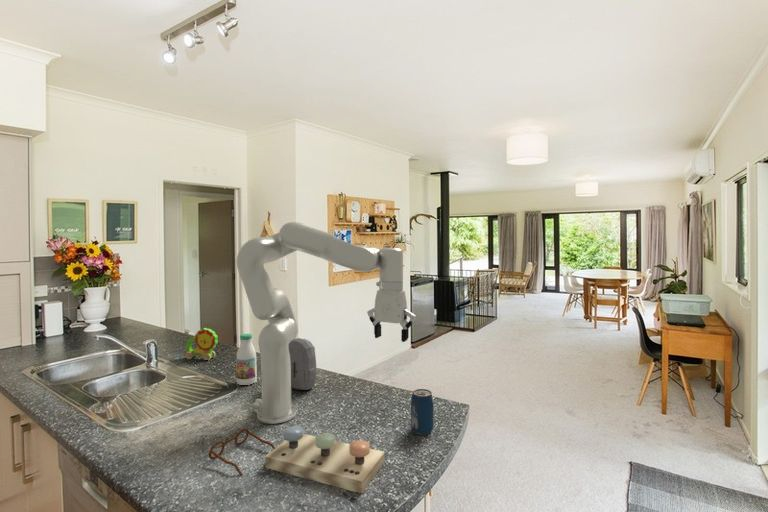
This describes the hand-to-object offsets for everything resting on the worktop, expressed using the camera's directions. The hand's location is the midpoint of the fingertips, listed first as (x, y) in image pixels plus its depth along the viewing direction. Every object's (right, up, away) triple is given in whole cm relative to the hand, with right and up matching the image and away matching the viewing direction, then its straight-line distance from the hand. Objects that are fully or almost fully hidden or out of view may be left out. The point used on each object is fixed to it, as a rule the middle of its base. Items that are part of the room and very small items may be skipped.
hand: (391, 339), depth 131 cm
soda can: (+10, -28, -5) cm, 30 cm away
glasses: (-40, -29, -20) cm, 54 cm away
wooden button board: (-18, -28, -24) cm, 41 cm away
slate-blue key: (-27, -22, -21) cm, 41 cm away
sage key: (-18, -23, -24) cm, 38 cm away
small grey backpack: (-36, -26, +29) cm, 53 cm away
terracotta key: (-8, -23, -28) cm, 37 cm away
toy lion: (-91, -24, +66) cm, 115 cm away
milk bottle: (-58, -25, +35) cm, 73 cm away
